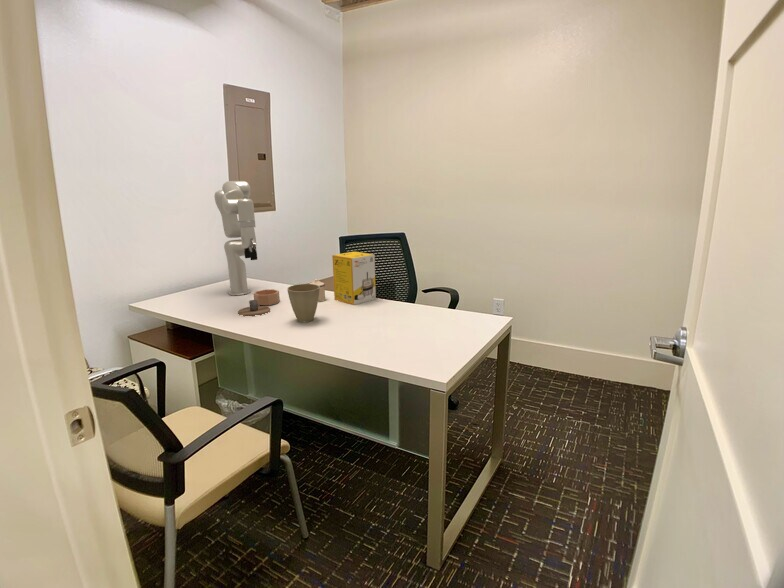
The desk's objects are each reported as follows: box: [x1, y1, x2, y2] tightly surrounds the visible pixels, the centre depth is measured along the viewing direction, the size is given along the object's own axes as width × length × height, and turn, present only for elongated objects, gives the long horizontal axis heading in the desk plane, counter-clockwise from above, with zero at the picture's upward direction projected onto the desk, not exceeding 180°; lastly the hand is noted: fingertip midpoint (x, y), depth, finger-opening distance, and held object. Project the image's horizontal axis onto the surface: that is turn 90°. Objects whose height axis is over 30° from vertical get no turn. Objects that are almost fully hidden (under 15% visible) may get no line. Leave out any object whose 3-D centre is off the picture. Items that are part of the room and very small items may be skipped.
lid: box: [237, 299, 271, 317], centre depth 222 cm, size 16×16×6 cm
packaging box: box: [331, 251, 377, 306], centre depth 240 cm, size 16×16×25 cm
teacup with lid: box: [308, 278, 326, 303], centre depth 243 cm, size 12×9×12 cm
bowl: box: [252, 289, 281, 306], centre depth 238 cm, size 12×12×6 cm
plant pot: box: [286, 283, 320, 323], centre depth 207 cm, size 15×15×16 cm
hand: (251, 258), depth 221 cm, fingers open, 9 cm apart
